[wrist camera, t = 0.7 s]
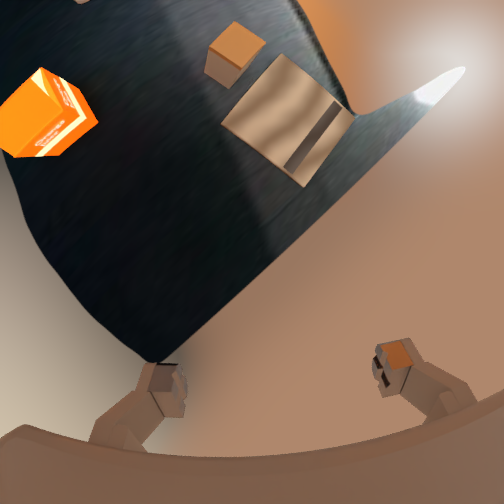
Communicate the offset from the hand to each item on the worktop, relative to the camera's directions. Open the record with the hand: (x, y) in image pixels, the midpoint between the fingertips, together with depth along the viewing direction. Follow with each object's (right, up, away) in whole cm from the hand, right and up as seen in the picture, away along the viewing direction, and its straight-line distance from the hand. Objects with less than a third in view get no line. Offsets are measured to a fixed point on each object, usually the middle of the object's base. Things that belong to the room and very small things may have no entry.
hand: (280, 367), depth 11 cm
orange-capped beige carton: (-5, +34, +29) cm, 45 cm away
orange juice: (-31, +26, +26) cm, 48 cm away
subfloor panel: (+5, +27, +34) cm, 43 cm away
